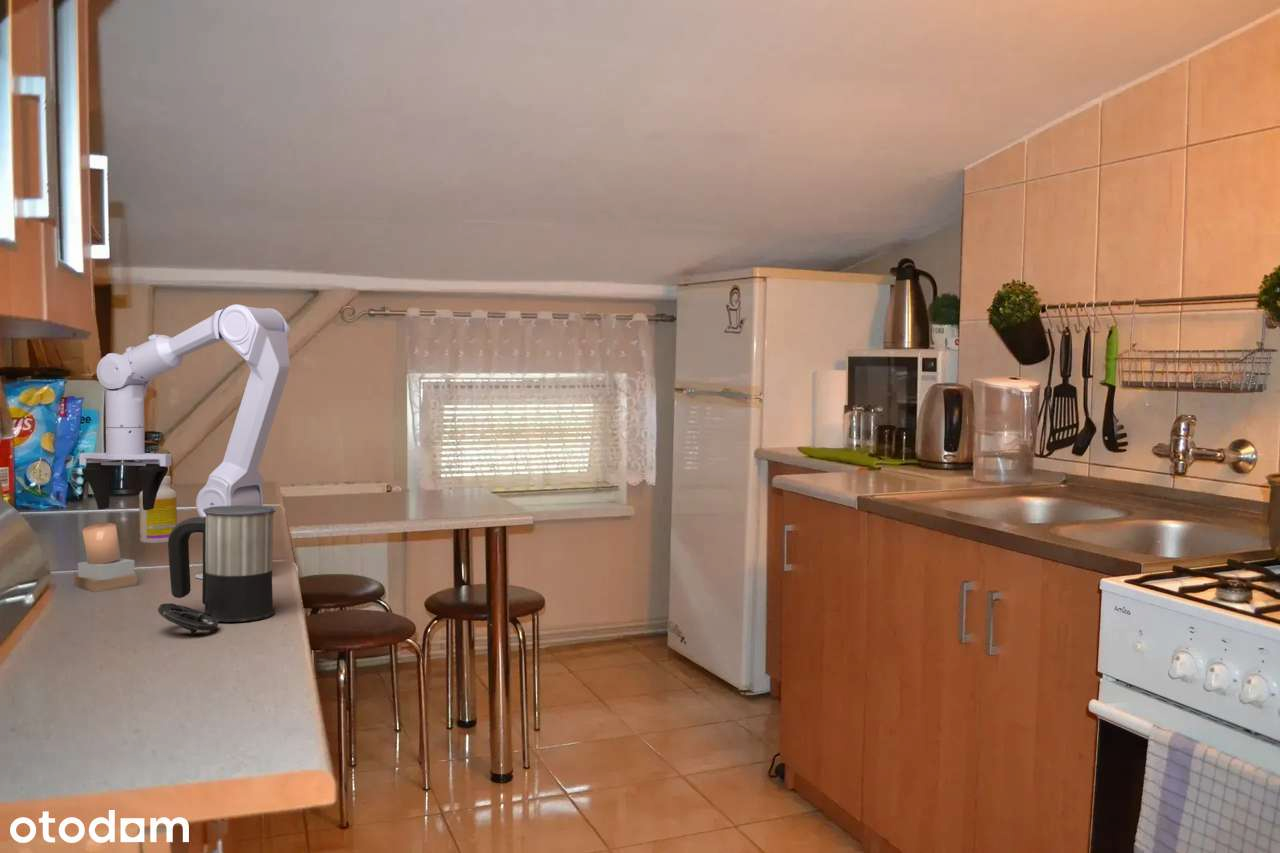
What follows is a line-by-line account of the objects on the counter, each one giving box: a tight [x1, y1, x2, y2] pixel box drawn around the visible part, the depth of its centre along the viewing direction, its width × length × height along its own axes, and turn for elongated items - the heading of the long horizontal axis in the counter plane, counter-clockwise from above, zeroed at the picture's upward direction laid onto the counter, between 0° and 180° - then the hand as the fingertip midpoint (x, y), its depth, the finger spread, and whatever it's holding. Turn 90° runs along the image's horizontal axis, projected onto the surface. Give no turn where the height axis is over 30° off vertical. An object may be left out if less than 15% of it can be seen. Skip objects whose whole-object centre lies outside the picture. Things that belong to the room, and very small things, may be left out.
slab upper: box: [77, 557, 136, 580], centre depth 158 cm, size 6×6×2 cm
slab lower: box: [73, 573, 139, 593], centre depth 159 cm, size 6×6×2 cm
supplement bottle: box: [138, 475, 178, 544], centre depth 201 cm, size 7×7×13 cm
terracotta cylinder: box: [82, 522, 122, 564], centre depth 157 cm, size 5×5×5 cm
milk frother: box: [157, 505, 276, 635], centre depth 136 cm, size 14×16×15 cm
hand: (125, 509), depth 170 cm, fingers open, 7 cm apart
